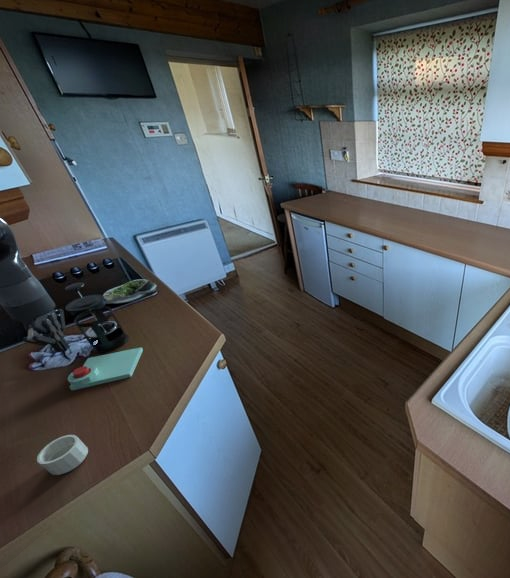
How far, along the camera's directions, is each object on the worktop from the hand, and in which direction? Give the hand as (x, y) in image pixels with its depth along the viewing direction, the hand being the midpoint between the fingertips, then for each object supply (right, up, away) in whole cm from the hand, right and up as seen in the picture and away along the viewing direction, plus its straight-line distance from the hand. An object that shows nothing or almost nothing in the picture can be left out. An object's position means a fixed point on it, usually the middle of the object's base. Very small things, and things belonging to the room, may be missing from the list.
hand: (63, 349), depth 79 cm
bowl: (+16, -23, -13) cm, 30 cm away
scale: (+3, -8, +10) cm, 13 cm away
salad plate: (-21, +15, +46) cm, 52 cm away
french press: (-6, -2, +20) cm, 21 cm away
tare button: (0, -8, +5) cm, 9 cm away
